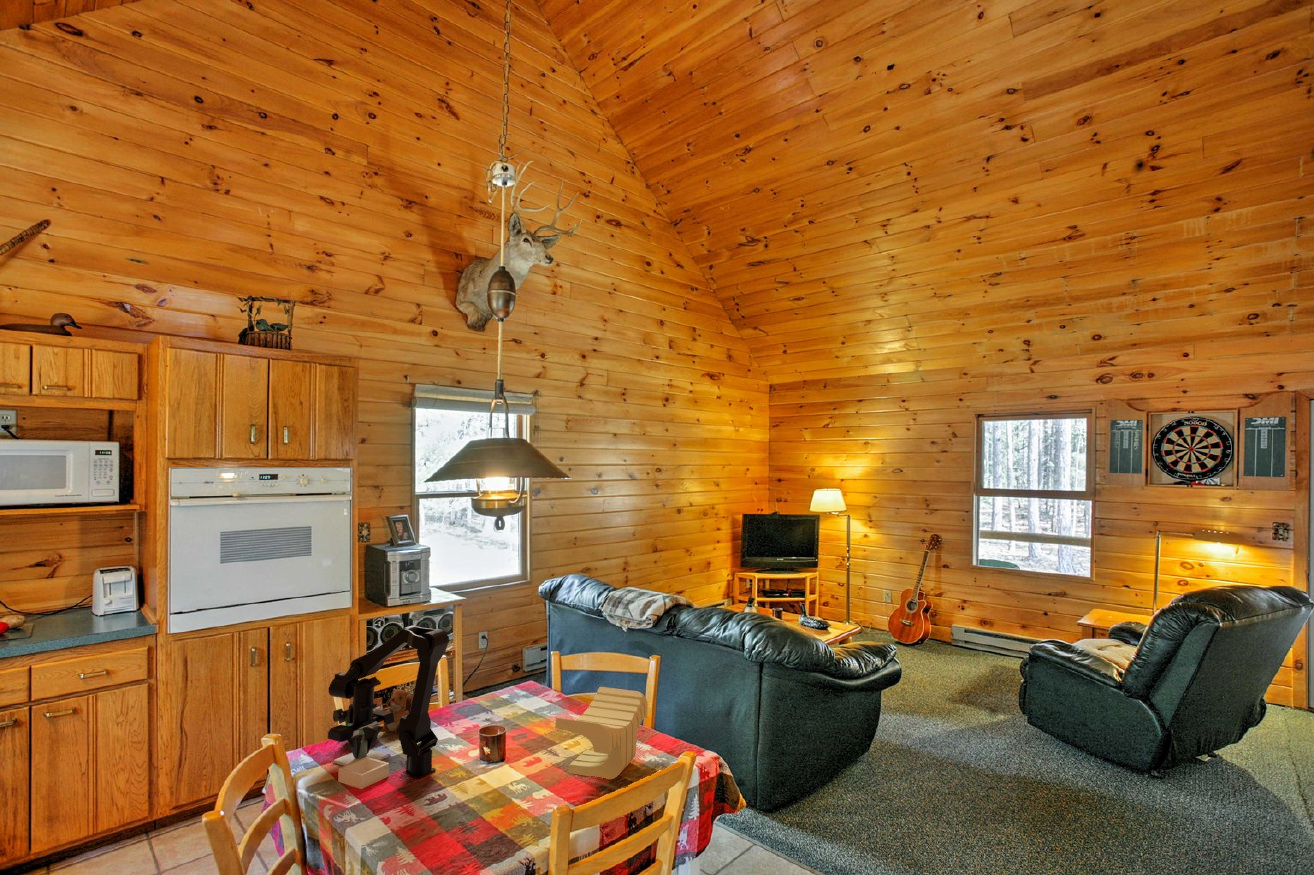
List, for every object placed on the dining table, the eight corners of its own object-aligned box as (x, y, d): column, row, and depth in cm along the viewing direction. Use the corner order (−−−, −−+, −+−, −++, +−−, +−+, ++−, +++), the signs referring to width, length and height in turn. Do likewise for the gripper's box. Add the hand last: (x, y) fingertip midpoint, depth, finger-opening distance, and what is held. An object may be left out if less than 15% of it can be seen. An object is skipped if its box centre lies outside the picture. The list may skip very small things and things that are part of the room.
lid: (387, 757, 200) (387, 739, 200) (358, 769, 191) (358, 750, 191) (363, 750, 204) (364, 732, 204) (334, 762, 195) (334, 743, 196)
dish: (388, 778, 187) (389, 763, 187) (361, 791, 179) (361, 775, 179) (366, 771, 191) (366, 756, 192) (338, 783, 183) (338, 768, 184)
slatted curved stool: (608, 794, 179) (609, 725, 180) (554, 785, 184) (555, 717, 186) (646, 752, 208) (647, 692, 209) (598, 744, 213) (599, 686, 214)
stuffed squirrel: (373, 733, 219) (374, 692, 220) (402, 719, 233) (403, 680, 233) (398, 738, 216) (400, 695, 217) (427, 723, 229) (428, 683, 230)
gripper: (370, 687, 210) (368, 739, 209) (316, 705, 194) (313, 761, 193) (396, 693, 205) (394, 746, 204) (342, 711, 189) (340, 769, 188)
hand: (361, 755), depth 197 cm, fingers closed on lid, 3 cm apart
